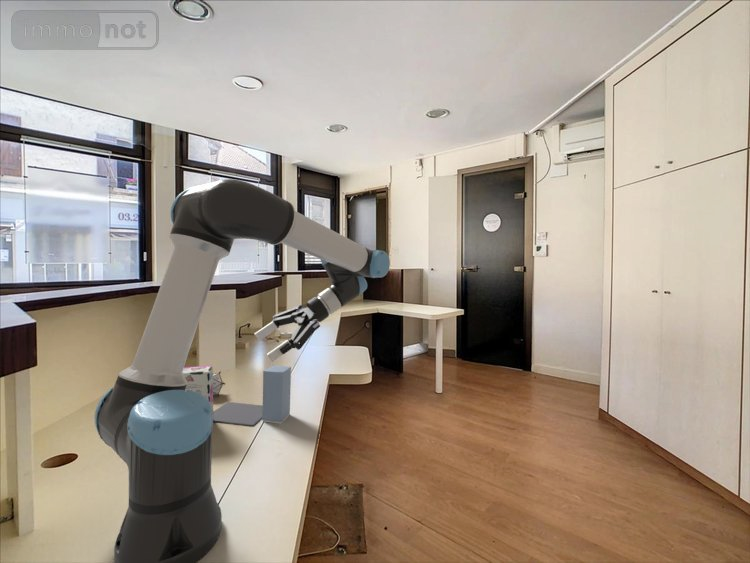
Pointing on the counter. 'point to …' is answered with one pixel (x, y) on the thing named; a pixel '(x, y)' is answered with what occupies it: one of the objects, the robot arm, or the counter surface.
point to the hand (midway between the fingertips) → (262, 347)
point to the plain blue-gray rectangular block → (276, 393)
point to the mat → (238, 414)
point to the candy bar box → (200, 381)
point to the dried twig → (217, 383)
